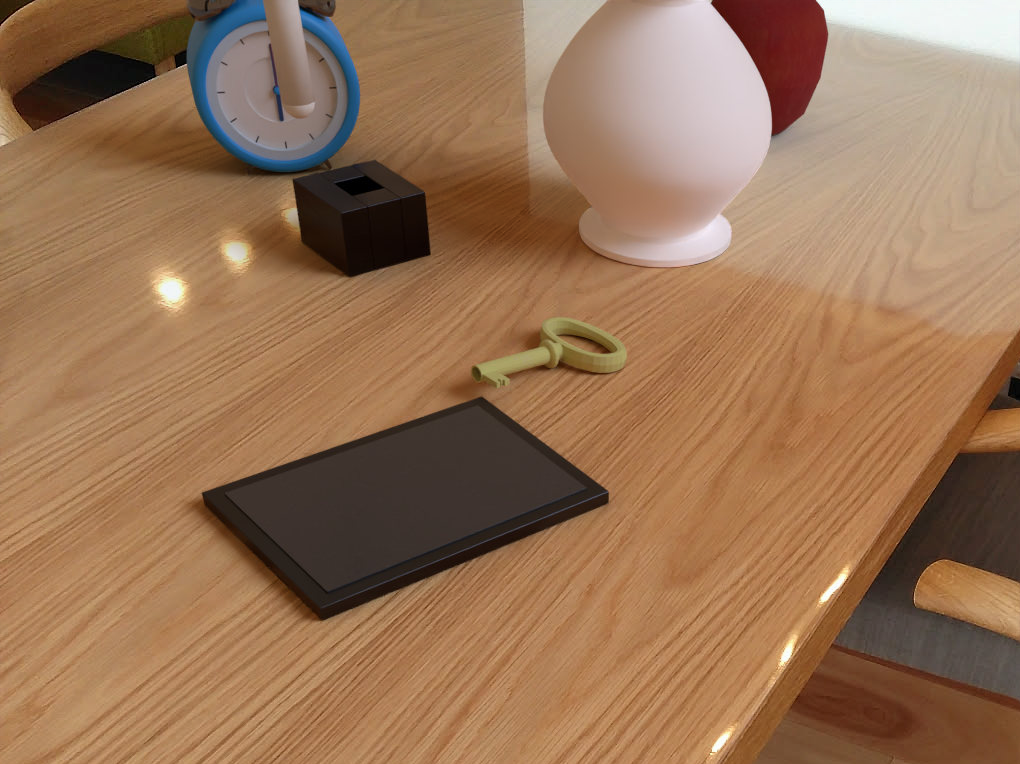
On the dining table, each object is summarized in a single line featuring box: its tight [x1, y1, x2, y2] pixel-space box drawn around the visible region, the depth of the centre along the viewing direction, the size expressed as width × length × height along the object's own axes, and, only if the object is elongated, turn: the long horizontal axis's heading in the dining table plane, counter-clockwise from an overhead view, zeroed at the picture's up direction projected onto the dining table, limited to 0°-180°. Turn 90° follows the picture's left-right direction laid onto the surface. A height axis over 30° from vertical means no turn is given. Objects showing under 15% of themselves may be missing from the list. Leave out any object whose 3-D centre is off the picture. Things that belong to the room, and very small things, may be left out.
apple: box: [710, 0, 829, 136], centre depth 133 cm, size 12×12×13 cm
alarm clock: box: [185, 0, 361, 176], centre depth 119 cm, size 13×6×15 cm, turn 110°
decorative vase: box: [542, 0, 772, 268], centre depth 111 cm, size 18×18×25 cm
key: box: [470, 316, 628, 389], centre depth 101 cm, size 7×12×2 cm, turn 155°
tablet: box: [201, 396, 610, 621], centre depth 89 cm, size 20×14×1 cm
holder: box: [291, 159, 432, 278], centre depth 112 cm, size 7×7×5 cm
